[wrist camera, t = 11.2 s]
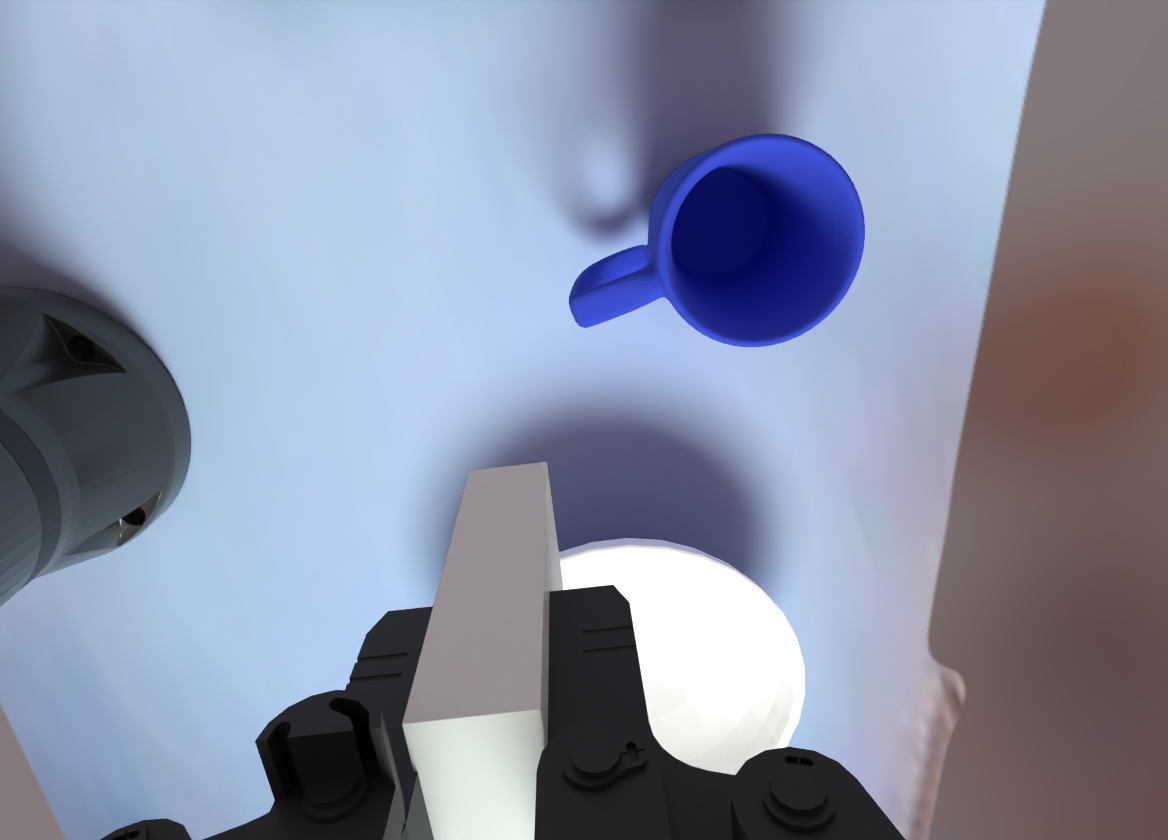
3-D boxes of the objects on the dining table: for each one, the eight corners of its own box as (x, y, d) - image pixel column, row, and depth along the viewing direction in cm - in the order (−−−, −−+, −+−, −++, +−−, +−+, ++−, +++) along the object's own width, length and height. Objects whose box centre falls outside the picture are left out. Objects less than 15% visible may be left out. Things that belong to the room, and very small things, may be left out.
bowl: (453, 491, 43) (434, 552, 36) (783, 481, 43) (821, 539, 37) (477, 749, 50) (464, 838, 43) (762, 738, 50) (791, 825, 44)
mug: (540, 204, 37) (532, 223, 28) (765, 110, 36) (837, 97, 27) (597, 348, 40) (608, 410, 31) (809, 266, 39) (887, 304, 29)
